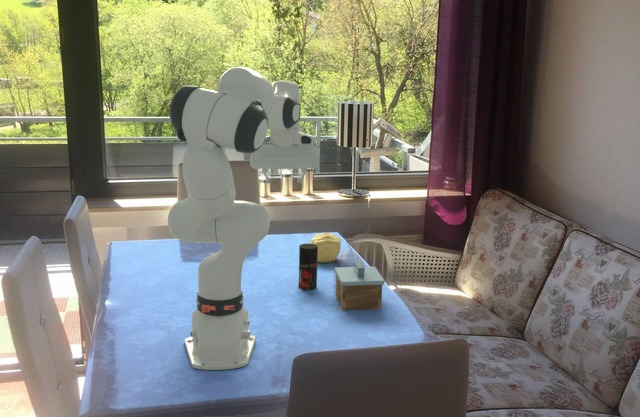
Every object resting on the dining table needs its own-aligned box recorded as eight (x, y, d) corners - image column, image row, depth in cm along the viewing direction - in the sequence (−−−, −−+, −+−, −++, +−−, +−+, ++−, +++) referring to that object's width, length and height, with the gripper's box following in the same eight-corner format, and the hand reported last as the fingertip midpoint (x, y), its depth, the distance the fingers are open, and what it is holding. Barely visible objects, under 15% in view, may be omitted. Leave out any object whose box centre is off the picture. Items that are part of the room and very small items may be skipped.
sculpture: (313, 266, 234) (313, 237, 231) (305, 256, 245) (306, 229, 242) (343, 264, 236) (344, 236, 234) (334, 254, 248) (335, 227, 245)
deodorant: (320, 289, 211) (321, 246, 207) (307, 294, 206) (308, 250, 203) (307, 285, 215) (308, 242, 211) (294, 289, 210) (295, 245, 207)
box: (380, 311, 194) (382, 283, 192) (342, 313, 192) (343, 284, 190) (372, 297, 206) (373, 270, 204) (335, 298, 204) (336, 271, 202)
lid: (384, 287, 192) (385, 271, 191) (341, 288, 190) (342, 272, 189) (374, 273, 204) (375, 257, 203) (334, 273, 202) (335, 258, 201)
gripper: (249, 138, 183) (249, 185, 186) (320, 138, 186) (319, 185, 190) (248, 135, 189) (248, 181, 192) (317, 135, 192) (316, 180, 196)
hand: (284, 183), depth 191 cm, fingers open, 8 cm apart
